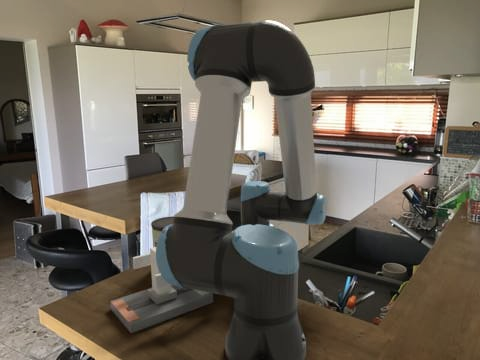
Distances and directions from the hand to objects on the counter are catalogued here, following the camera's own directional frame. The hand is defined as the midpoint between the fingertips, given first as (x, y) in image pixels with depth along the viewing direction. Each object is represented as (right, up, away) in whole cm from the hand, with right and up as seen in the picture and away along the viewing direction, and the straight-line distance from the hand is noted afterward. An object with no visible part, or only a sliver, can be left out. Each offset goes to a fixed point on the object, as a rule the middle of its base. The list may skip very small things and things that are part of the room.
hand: (144, 272), depth 86 cm
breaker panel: (+3, -9, +4) cm, 10 cm away
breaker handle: (+3, -7, +4) cm, 8 cm away
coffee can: (+2, -5, +23) cm, 24 cm away
